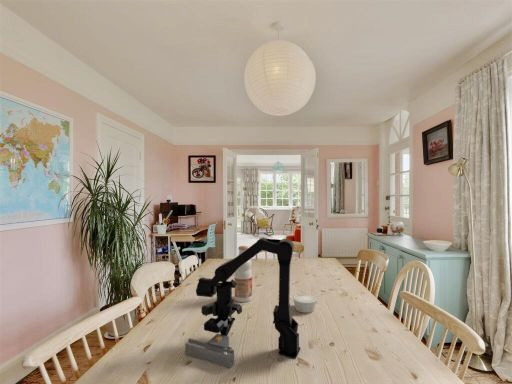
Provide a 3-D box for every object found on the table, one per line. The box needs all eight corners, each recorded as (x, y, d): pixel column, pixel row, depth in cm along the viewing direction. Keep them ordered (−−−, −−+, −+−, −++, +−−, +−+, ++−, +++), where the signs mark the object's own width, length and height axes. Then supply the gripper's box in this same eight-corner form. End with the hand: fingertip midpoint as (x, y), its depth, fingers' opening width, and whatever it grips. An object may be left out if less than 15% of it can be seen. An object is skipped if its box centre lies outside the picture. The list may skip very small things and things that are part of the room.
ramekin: (302, 302, 137) (302, 292, 137) (320, 309, 129) (320, 298, 129) (288, 309, 130) (288, 298, 130) (307, 316, 122) (307, 305, 122)
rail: (239, 356, 91) (239, 343, 91) (230, 368, 85) (230, 354, 85) (196, 345, 98) (196, 332, 98) (185, 355, 92) (185, 341, 93)
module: (228, 347, 97) (228, 334, 97) (218, 358, 91) (218, 344, 91) (217, 344, 99) (217, 331, 99) (206, 354, 93) (206, 341, 93)
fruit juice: (231, 298, 143) (231, 246, 143) (246, 294, 148) (246, 244, 148) (240, 304, 135) (239, 249, 135) (255, 300, 140) (255, 247, 141)
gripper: (219, 286, 111) (219, 323, 111) (191, 303, 94) (191, 347, 94) (242, 290, 107) (242, 329, 107) (218, 309, 90) (218, 355, 90)
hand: (224, 339), depth 100 cm, fingers closed
